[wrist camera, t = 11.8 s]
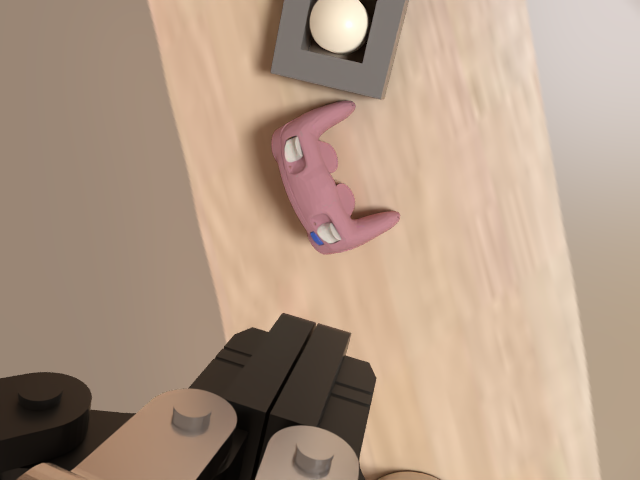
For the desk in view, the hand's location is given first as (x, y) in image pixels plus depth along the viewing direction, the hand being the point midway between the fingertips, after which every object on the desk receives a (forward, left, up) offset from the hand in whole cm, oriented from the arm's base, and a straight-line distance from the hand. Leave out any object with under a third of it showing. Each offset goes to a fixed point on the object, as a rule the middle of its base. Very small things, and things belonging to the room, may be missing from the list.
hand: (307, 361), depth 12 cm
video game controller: (+1, +4, -29) cm, 30 cm away
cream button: (+11, +1, -28) cm, 30 cm away
